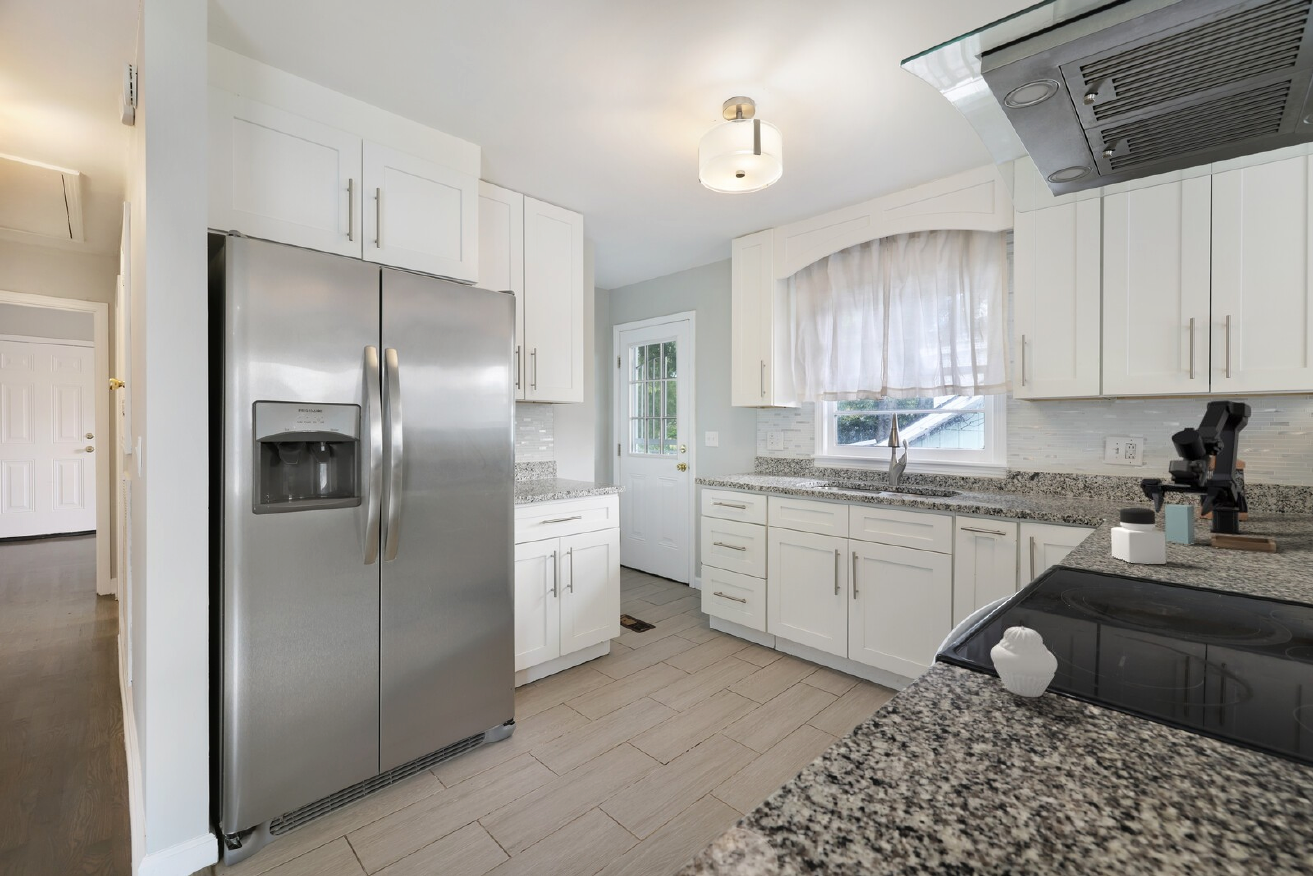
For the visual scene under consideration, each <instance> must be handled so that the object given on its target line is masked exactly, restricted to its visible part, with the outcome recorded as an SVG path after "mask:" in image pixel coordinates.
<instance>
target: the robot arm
mask: <svg viewBox="0 0 1313 876" xmlns="http://www.w3.org/2000/svg"><path fill="white" fill-rule="evenodd" d="M1251 408H1252V407H1251V406H1250V405H1249V404H1246V402H1245V401H1242V402H1236V401H1232V400H1212V401H1209V402H1207V405H1206V412H1205V413H1204V416H1203V417H1202V420H1201V421H1200V424H1199V426H1198V427H1197V429H1195V428H1194V427H1184V429H1182V430H1180V431H1178V432H1176V433H1174V434H1173V435H1172V436H1171V441H1172V443H1173V446H1174V448H1175V450H1176V453H1177V455H1178V457H1179V458H1182V460H1181V459H1180V460H1179V459H1177V460H1174V459H1173V460H1169V464H1168V465H1169V466H1168V470H1167V471H1168V473H1169V474H1170V475H1171V477H1170V479H1171V481H1172V482H1173V483H1163V481H1162V480H1161V478H1142V480H1141V482H1140V483H1139V485H1140V488H1141V490H1142V493H1143V494H1144V496H1145V498H1147V499H1150V501H1153V503H1154V504H1153V505H1154V509H1155V514H1157V513H1158V514H1159V513H1160V511H1162V507H1163V505H1164V503H1165V502H1164V501H1165V499H1164V498H1165V496H1166V493H1178V494H1181V495H1201V498H1202V504H1203V507H1202V509H1201V516H1205V515H1206V514H1208V513H1209V512H1211V511H1212V520H1211V528H1210V529H1209V531H1211V532H1210V533H1217V532H1218V534H1234V535H1242V533H1243V532H1242V530H1240V521H1239V513H1248V514H1249V506H1248V502H1247V498H1246V496H1245V497H1244V494H1243V492H1242V488H1241V487H1240V486H1239V484H1238V483H1237V482H1236V480H1235V472H1236V461H1237V459H1238V450H1239V449H1238V447H1239V436H1240V432H1241V431H1242V430H1243V429H1244V428H1246V426H1248V423H1249V418H1251V416H1252V409H1251ZM1210 456H1215V465H1214V475H1213V476H1212V477H1211V478H1210V479H1206V476H1207V473H1208V470H1210V469H1211V465H1210V464H1211V461H1212V459H1211V457H1210ZM1204 483H1205V486H1203V485H1204ZM1218 507H1235V508H1239V509H1228V508H1218Z"/></svg>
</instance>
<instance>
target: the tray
mask: <svg viewBox="0 0 1313 876" xmlns="http://www.w3.org/2000/svg"><path fill="white" fill-rule="evenodd" d="M1236 536H1237V535H1227V536H1222V534H1211V535H1210V538H1211V541H1210V542H1211V548H1212V547H1218V548H1217V549H1220V548H1225V549H1224V550H1232V549H1242V550H1241V551H1245V550H1251V551H1250V552H1257V551H1260V552H1261V553H1270V554H1271V553H1273V554H1276V553H1277V544H1276V543H1275V541H1274V540H1273V538H1262V537H1250V536H1249V537H1247V536H1240V537H1236ZM1260 552H1259V553H1260Z"/></svg>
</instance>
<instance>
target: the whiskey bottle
mask: <svg viewBox="0 0 1313 876" xmlns="http://www.w3.org/2000/svg"><path fill="white" fill-rule="evenodd" d="M1210 457H1211V459H1212V461H1211V464H1210V465H1211V469H1210V470H1208V473H1207V476H1206V479H1210V478H1211V477H1212V476H1213V475H1214V465H1215V456H1210ZM1245 468H1246V462H1245V461H1243V460H1241V459H1238V458H1237V461H1236V472H1235V480H1236V482H1237V483H1238V484H1239V486H1240V487H1241V488H1242V492H1243V494H1244V497H1245V498H1246V490H1245V489H1246V487H1245V475H1244V473H1245V471H1244V469H1245ZM1203 486H1205V483H1204V485H1203ZM1199 501H1200V506H1199V507H1198V518H1199V517H1204V518H1212V511H1211V512H1209V513H1208V514H1206V515H1205V516H1201V509H1202V507H1203V504H1202V498H1201V495H1200V500H1199ZM1218 508H1228V509H1239V508H1235V507H1218ZM1246 519H1249V512H1248V513H1239V520H1243V521H1247V520H1246Z"/></svg>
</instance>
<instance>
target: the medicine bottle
mask: <svg viewBox="0 0 1313 876" xmlns="http://www.w3.org/2000/svg"><path fill="white" fill-rule="evenodd" d="M1119 518H1120V519H1119V520H1120V521H1119V524H1120V527H1119V526H1118V527H1112V528H1111V529H1110V533H1111V536H1110V537H1111V539H1110V541H1111V557H1112V556H1114V557H1116V558H1118V559H1123V560H1125V561H1127V562H1131V563H1166V564H1167V543H1166V532H1164V531H1160V530H1156V529H1154V528H1156V511H1154V510H1152V509H1150V508H1144V507H1124V508H1121V509H1120V511H1119Z"/></svg>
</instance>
